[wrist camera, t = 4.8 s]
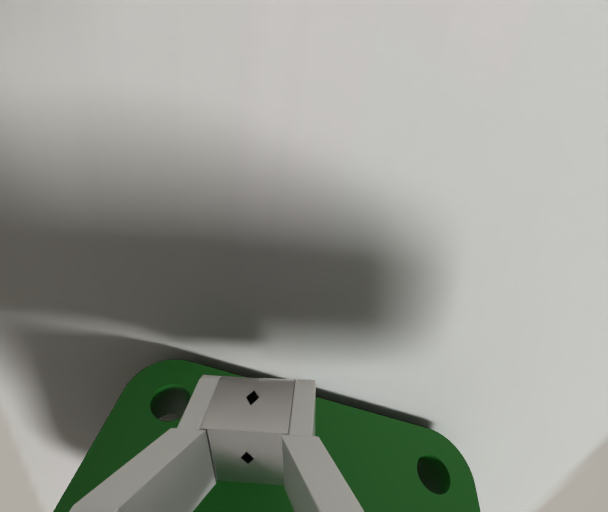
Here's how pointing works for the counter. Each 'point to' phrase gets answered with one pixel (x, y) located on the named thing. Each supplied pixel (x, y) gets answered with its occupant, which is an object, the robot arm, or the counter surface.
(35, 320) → the counter surface
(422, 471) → the clamp
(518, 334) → the counter surface
